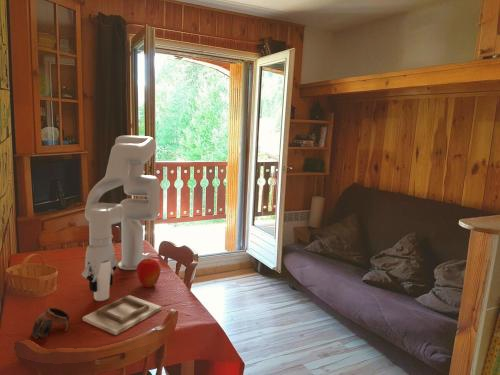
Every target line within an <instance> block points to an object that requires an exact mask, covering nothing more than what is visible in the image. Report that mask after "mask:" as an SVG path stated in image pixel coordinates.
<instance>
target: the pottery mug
mask: <svg viewBox="0 0 500 375" xmlns="http://www.w3.org/2000/svg"><path fill="white" fill-rule="evenodd" d="M36 318H37V319H36V320H35V322H34V325H33V327H32V332H31V335H32V338H34V339H36V340H39V337H40V338H43V339H44V338H48V336H49V335H50V331H51V330H52V328H53V327H54V326H53V325H54V324H58V325H59V324H62V325H64V326H65V327H64V330H63V331H64V332H67V331H68V329H69V328H68V327H69V325H70V324H69V319H70V318H71V317H70V315H69V314H68V313H67V312H66V311H63V310H61V309H58V308H55V307H48V308H47V309H46V311H44V312H42V313H41V314H39V315H38V317H36ZM53 322H54V323H53Z"/></svg>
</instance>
